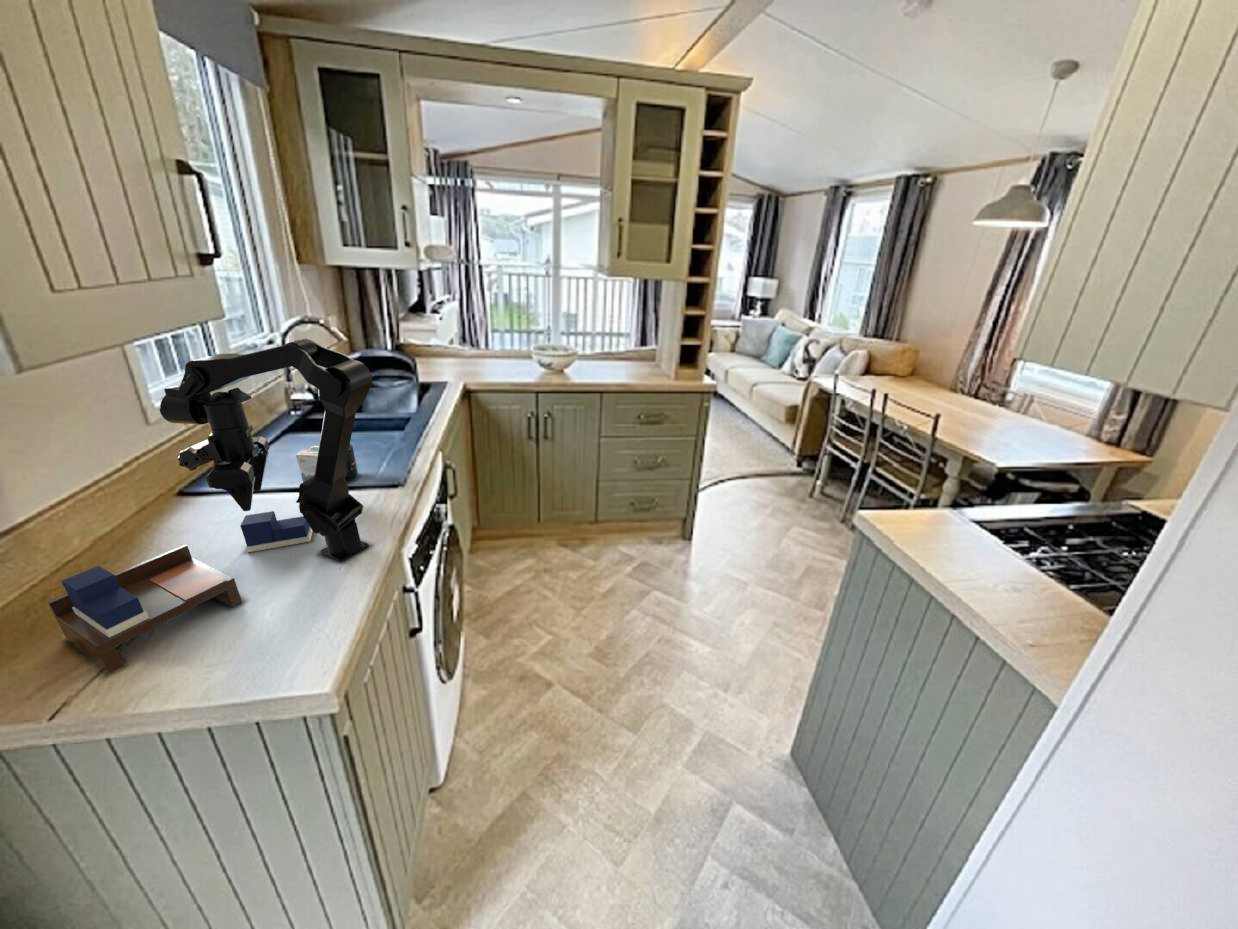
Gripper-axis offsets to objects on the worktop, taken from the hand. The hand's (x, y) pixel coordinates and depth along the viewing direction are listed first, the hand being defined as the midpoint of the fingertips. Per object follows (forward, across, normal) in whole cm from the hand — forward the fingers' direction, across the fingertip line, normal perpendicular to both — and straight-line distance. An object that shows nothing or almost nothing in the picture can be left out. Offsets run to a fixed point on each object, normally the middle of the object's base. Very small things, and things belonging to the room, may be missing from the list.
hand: (252, 500), depth 102 cm
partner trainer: (+5, +24, -15) cm, 29 cm away
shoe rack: (+10, +20, -12) cm, 25 cm away
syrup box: (+10, -12, +10) cm, 19 cm away
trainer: (+10, 0, +3) cm, 10 cm away
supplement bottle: (+10, -29, +13) cm, 33 cm away
